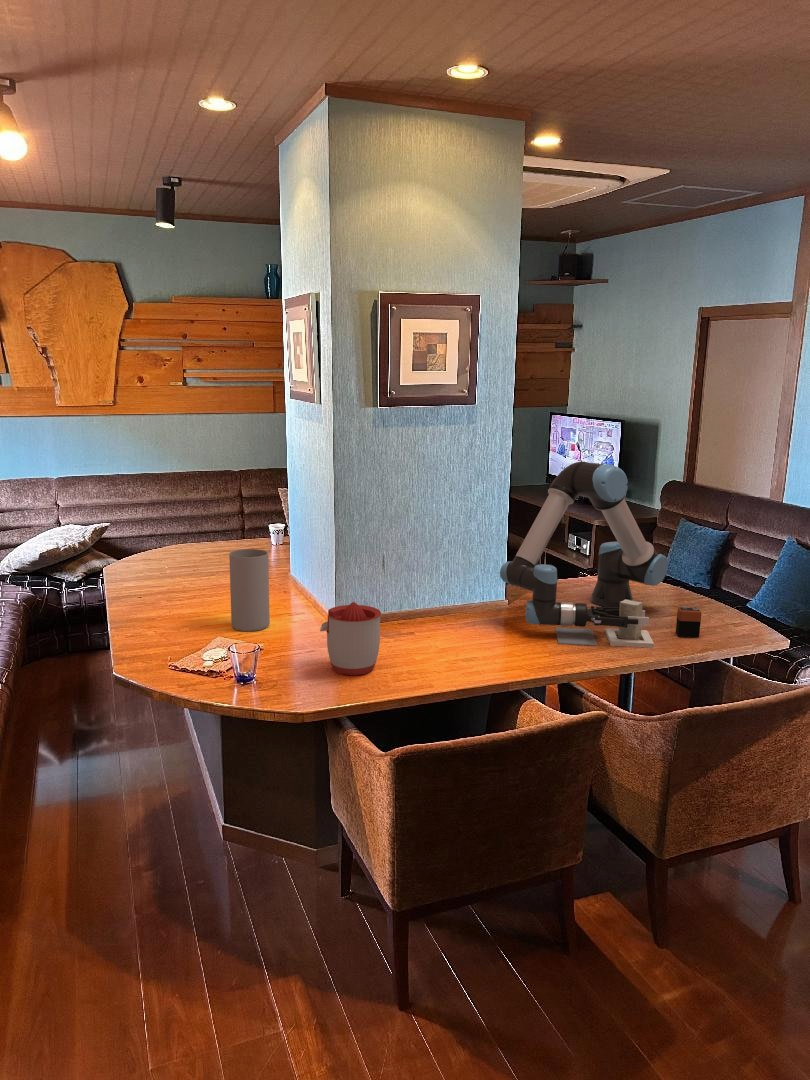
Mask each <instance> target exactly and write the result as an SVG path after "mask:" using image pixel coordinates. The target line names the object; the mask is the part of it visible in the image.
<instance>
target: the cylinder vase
mask: <svg viewBox="0 0 810 1080" xmlns="http://www.w3.org/2000/svg"><path fill="white" fill-rule="evenodd" d="M228 556H229V557H228V558H229V559H228V560H229V585H230V586H229V587H230V591H229V593H230V618H231V620H230V624H231V627H232V628H233V629H234V628H235V629H234V630H236V629H237V630H236V631H239V630H241V631H240V632H247V631H250V632H259V631H262V630H265V629H267V628H268V627H269V626H270V622H271V621H270V582H269V581H270V577H269V576H270V575H269V573H270V572H269V571H270V569H269V566H270V565H269V552H268V550H264V549H259V548H258V549H257V548H245V549H244V548H243V549H237V550H233V551H230V552H229V555H228Z"/></svg>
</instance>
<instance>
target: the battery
mask: <svg viewBox="0 0 810 1080" xmlns="http://www.w3.org/2000/svg"><path fill="white" fill-rule="evenodd" d="M701 620H702V611H701V610H700V609H699V608H698V606H693V607H689V606H687V605H681V606H679V607H678V608H677V612H676V624H675V634H676V635H677V636H678V638H688V639H689V638H693V639H694V638H695V639H697V638H699V639H700V631H701V623H702V622H701Z"/></svg>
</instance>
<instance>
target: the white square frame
mask: <svg viewBox="0 0 810 1080" xmlns="http://www.w3.org/2000/svg"><path fill="white" fill-rule="evenodd" d="M604 629H605V630H604V633H605V635H606V638H608V639H607V641H608V644H609V643H610V644H609V645H610V647H623V646H631V647H630V648H642V647H644V648H645V649H654V648H655V642H654V641H653V639H652V637H651V635H650V634H649V631H648V630H645V629H641V638H640V639H638V640H627V639H622V638H618V636H617V635H618V630H619V628H611V627H605V628H604ZM644 648H643V649H644Z"/></svg>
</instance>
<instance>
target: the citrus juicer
mask: <svg viewBox="0 0 810 1080" xmlns="http://www.w3.org/2000/svg"><path fill="white" fill-rule="evenodd" d="M381 615H382V612H381V610H380V609H379V608H377V607H374V606H370V605H363V604H358V603H357V602H356V601H352V602H350V603H349V604H346V605H338V606H333V607H330V608H329V609H328V611H327V621H325V622H323V623H322V624H321V626H320V628H319V632H325V631H326V642H327V643H326V647H327V653H328V658H329V660H330V665H331V668H332V669H333V671H335V672H336V673H338V674H339V675H347V676H349V675H351V676H358V675H359V676H360V675H365V674H368V673H370V672H372V671H373V670H374V668H375V667H376V663H377V659H378V657H379V650H380V643H381V636H380V635H381Z"/></svg>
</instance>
